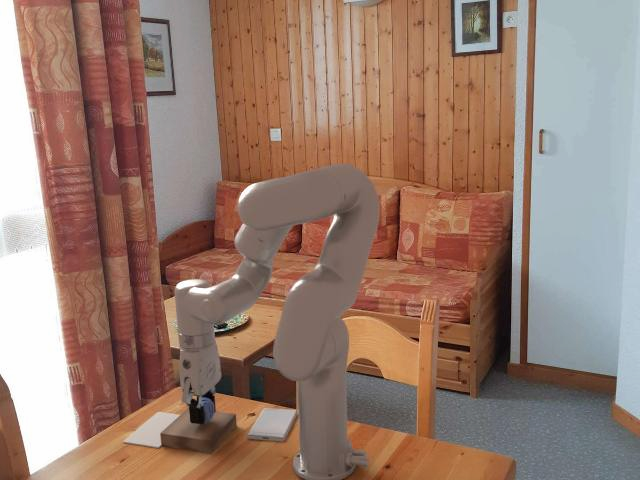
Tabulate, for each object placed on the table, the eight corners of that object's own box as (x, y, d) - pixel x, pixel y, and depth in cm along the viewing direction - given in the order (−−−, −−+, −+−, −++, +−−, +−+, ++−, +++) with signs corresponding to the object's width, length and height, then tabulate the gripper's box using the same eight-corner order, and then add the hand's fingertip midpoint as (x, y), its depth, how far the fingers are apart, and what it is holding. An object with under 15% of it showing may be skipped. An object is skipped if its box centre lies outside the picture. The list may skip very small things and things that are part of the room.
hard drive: (263, 407, 150) (247, 433, 138) (297, 409, 149) (283, 436, 137) (263, 414, 151) (247, 440, 139) (297, 416, 149) (284, 443, 137)
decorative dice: (198, 413, 142) (197, 396, 141) (215, 414, 141) (213, 398, 140) (190, 422, 138) (189, 405, 137) (208, 423, 137) (206, 406, 136)
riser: (236, 426, 144) (235, 413, 144) (211, 453, 133) (210, 440, 132) (189, 419, 148) (188, 407, 147) (161, 446, 137) (160, 433, 136)
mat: (191, 417, 149) (191, 416, 149) (158, 448, 136) (158, 447, 136) (158, 412, 152) (157, 411, 152) (122, 442, 139) (122, 441, 139)
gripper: (192, 354, 126) (199, 439, 130) (230, 326, 142) (235, 402, 146) (159, 351, 129) (167, 434, 133) (200, 323, 144) (206, 398, 148)
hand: (203, 416), depth 139 cm, fingers closed on decorative dice, 4 cm apart
